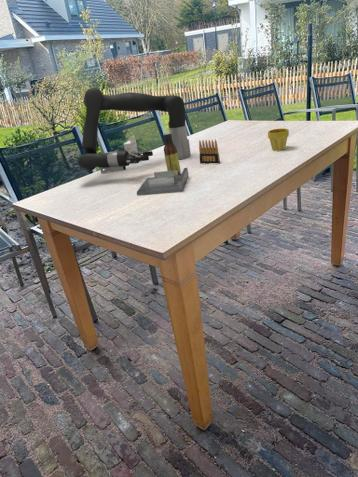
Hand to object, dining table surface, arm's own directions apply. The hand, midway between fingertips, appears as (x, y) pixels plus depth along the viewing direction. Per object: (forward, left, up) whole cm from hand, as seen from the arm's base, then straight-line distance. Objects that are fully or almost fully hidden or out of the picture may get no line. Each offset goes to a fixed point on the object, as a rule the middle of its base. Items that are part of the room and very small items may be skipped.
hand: (150, 155), depth 176 cm
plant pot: (-67, +12, -11) cm, 69 cm away
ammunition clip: (-30, +3, -11) cm, 32 cm away
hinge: (+12, -31, -11) cm, 35 cm away
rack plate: (+3, +18, -11) cm, 21 cm away
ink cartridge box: (-4, -41, -11) cm, 42 cm away
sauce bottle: (-8, +6, -11) cm, 15 cm away
